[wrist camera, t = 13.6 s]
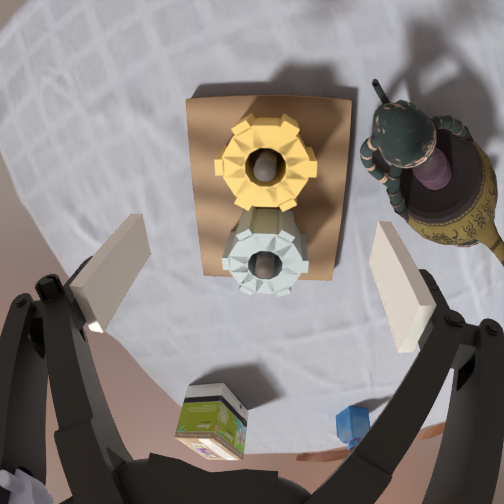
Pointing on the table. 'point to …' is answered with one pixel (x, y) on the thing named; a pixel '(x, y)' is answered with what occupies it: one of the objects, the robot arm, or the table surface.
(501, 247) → the teapot
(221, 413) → the tea box
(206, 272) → the gear board
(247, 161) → the ochre gear
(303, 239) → the pale grey gear
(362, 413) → the perfume bottle
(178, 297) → the table surface
